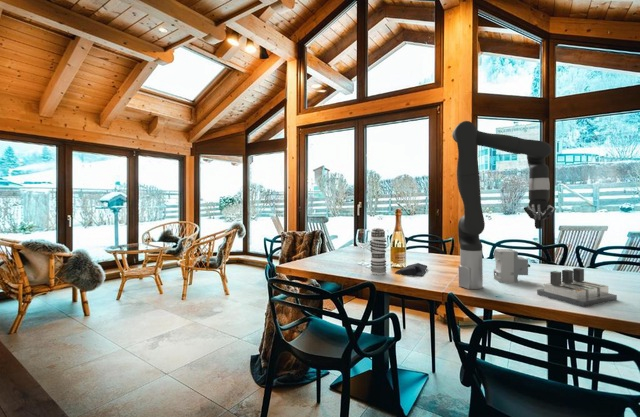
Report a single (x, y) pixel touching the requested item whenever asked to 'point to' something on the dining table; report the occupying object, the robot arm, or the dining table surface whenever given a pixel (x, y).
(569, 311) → the dining table surface
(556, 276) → the block
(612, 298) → the breaker panel
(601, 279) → the dining table surface
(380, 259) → the grey ringed tower
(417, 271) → the dark slate chunk
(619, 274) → the dining table surface
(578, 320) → the dining table surface
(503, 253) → the circuit breaker
